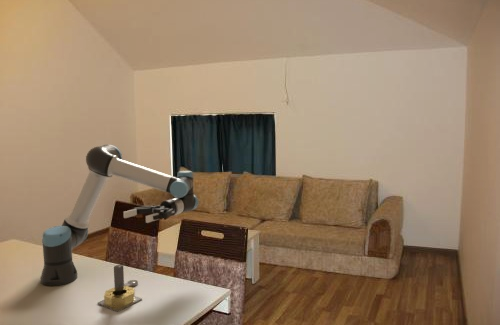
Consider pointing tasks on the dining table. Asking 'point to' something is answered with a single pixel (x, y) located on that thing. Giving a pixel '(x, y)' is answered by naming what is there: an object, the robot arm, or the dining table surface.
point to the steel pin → (119, 279)
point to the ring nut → (119, 299)
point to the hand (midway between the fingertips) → (134, 217)
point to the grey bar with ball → (131, 283)
